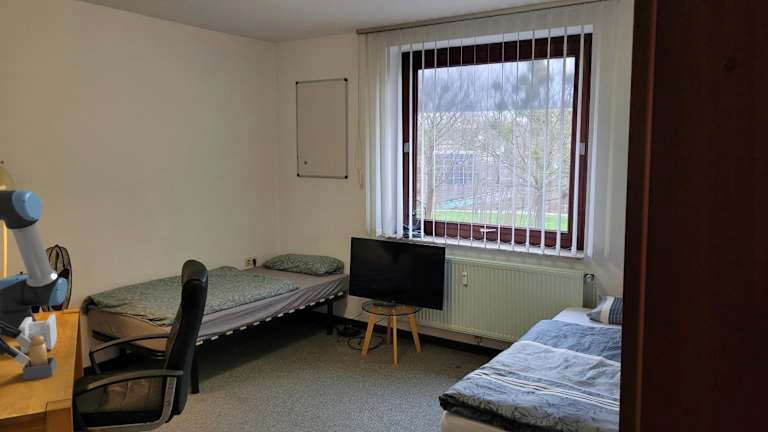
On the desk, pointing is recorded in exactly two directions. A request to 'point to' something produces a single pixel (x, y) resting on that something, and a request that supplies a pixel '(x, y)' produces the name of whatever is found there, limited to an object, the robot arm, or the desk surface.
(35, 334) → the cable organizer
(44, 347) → the beige rounded figurine
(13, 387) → the desk surface
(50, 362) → the grey open square box
